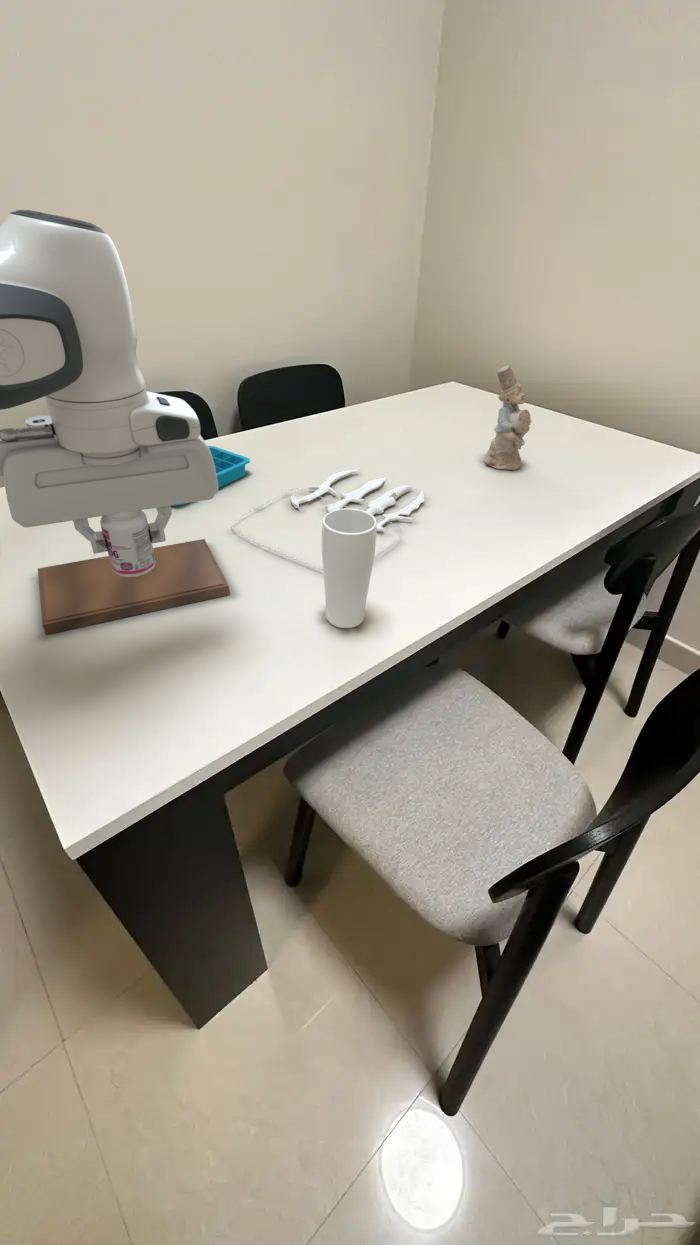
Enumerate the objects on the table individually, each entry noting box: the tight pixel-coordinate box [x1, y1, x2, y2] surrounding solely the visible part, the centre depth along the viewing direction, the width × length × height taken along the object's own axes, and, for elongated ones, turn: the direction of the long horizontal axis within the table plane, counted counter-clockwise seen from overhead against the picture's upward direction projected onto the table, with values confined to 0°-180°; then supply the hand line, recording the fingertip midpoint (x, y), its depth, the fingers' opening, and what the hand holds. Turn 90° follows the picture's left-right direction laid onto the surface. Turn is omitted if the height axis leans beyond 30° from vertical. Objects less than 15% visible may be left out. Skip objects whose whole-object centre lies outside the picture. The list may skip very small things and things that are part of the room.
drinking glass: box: [321, 507, 378, 629], centre depth 75 cm, size 7×7×15 cm
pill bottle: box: [99, 510, 155, 577], centre depth 63 cm, size 5×5×8 cm
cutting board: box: [37, 538, 231, 635], centre depth 83 cm, size 24×14×2 cm, turn 115°
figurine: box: [483, 364, 533, 471], centre depth 119 cm, size 9×8×20 cm
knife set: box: [230, 469, 425, 571], centre depth 102 cm, size 26×35×1 cm
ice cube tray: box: [171, 445, 251, 507], centre depth 110 cm, size 12×20×3 cm, turn 146°
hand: (130, 545), depth 64 cm, fingers closed on pill bottle, 5 cm apart
